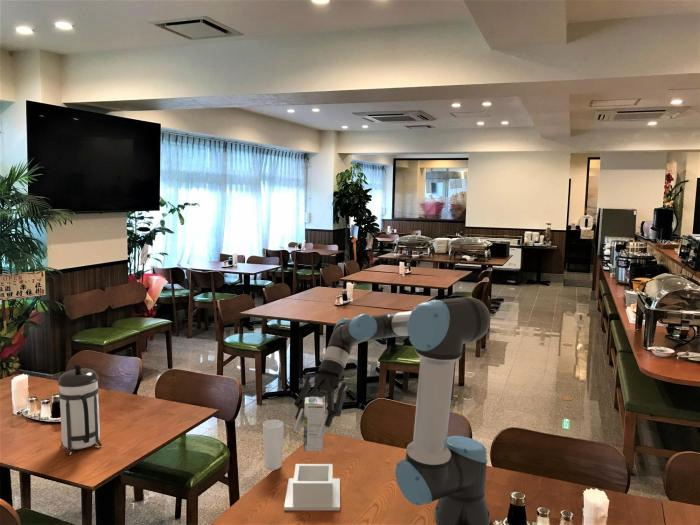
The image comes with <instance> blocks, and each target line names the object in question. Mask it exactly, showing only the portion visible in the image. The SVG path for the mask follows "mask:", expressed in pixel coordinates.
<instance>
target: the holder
mask: <svg viewBox="0 0 700 525" xmlns="http://www.w3.org/2000/svg"><path fill="white" fill-rule="evenodd" d="M333 466H334V465H333V463H295V466H294V468H295V469H294V473H293V477H291V478H290V477H289V478H288V481H287V482H288V483H287V487H286V492H285V494H286V495H285V500H284V507H283V511H341V489H340V488H341V483H340V482H341V479H340V478H335V477H333V475H334V474H333V470H334V467H333Z"/></svg>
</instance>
